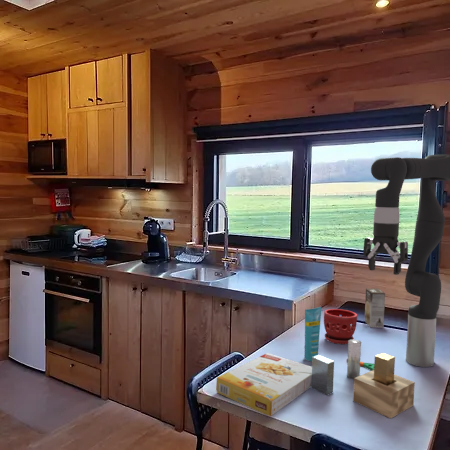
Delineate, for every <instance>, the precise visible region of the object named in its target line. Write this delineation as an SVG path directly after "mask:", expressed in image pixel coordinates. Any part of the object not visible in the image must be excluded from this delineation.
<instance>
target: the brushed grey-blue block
mask: <svg viewBox="0 0 450 450" xmlns="http://www.w3.org/2000/svg"><path fill="white" fill-rule="evenodd" d="M311 367H312V384H311V387H310V388H311V389H312V390H314V391H317V392H319V393H322V394H323V395H325V396H328V394H329V395H330V393H331V394H333V393H334V376H335V375H334V374H335V371H334V370H335V360H332V359H330V358H327V357H325V356H323V355H320V354H318V355H317V356H314V357H312V361H311ZM332 392H333V393H332Z"/></svg>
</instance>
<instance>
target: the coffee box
mask: <svg viewBox="0 0 450 450" xmlns="http://www.w3.org/2000/svg"><path fill="white" fill-rule="evenodd" d="M385 302H386V293H385V292H384V291H382V290H381V289H380V288H365V304H364V322H365V324H367V325H368V327H369V328H380V329H381V328H384V326H385V325H384V322H385V320H384V319H385V305H386V303H385Z"/></svg>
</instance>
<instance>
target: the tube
mask: <svg viewBox="0 0 450 450" xmlns="http://www.w3.org/2000/svg"><path fill="white" fill-rule="evenodd" d="M321 316H322V306H317V307H314V308H308V309H307V308H305V310H304V360H305V361H307V362H312V357H314V356H317V355H319V349H320V348H319V347H320V331H321V319H322V317H321Z"/></svg>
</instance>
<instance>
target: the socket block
mask: <svg viewBox="0 0 450 450" xmlns="http://www.w3.org/2000/svg"><path fill="white" fill-rule="evenodd" d="M415 383H416V382H414V381H412V380H409V379H407V378H404V377H402V376H400V375H397V374H394V383H392V384H390V385H388V386H386V385H384V384H381V383H379V382H376V381H374V370H372V371H371V370H370V371H368V372H365V373H362V374H360V376H358V377H356V378H354V379H353V401H352V402H355V403H357V404H359V405H361V406H363V407H364V408H367V409H368V410H371V411H373V412H375V413H378V414H379V415H382V416H383V417H386V418H389V419H392V418H394V417H396V416H397V415H400V414H401V413H403V412H405V411H407V410H408V409H410V408H412V407H413V406H414V402H415V401H414V400H415Z"/></svg>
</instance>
